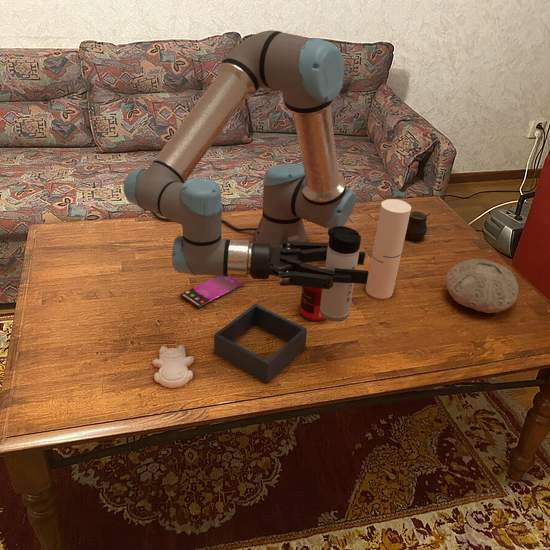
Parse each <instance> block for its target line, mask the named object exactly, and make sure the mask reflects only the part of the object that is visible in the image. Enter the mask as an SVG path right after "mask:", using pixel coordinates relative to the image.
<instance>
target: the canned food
mask: <svg viewBox="0 0 550 550" xmlns="http://www.w3.org/2000/svg"><path fill="white" fill-rule="evenodd" d="M318 267H319V268H323V269H325V267H324V266H318ZM321 296H322V289H321V288H312V287H303V286H301V296H300V306H299V311H300V314H301V316H302V317H303V318H304V319H306V320H308V321H311V322H322V321H324V320H326V319H325V318H323V317H322V316H321V314H320V303H321Z"/></svg>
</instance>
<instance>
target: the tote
mask: <svg viewBox="0 0 550 550" xmlns="http://www.w3.org/2000/svg"><path fill="white" fill-rule="evenodd" d="M255 326H256V327H258V328H261V329H262V330H264V331H266V332H268V333H270V334H272V335H273V336H275V337H278V338H279V339H281V340H283V341H286V342H287V343H285V344H284V345H283V346H282V347H281V348H280V349H278V351H276V352H275V353H274V354H273V355H272V356H270V358H268V359H265V358H263V357H261V356H260V355H258V354H256V353H254V352H253V351H250V350H248V348H245V347H243V346H241V345H239V344H238V343H236V342H235V341H236V340H237V339H239V338H240V337H242V336H243V335H244V334H245V333H247V331H249V330H250V329H251V328H253V327H255ZM307 333H308V329H307V328H306V327H304V326H302V325H299V324H297V323H295V322H294V321H291V320H289V319H287V318H285V317H283V316H281V315H279V314H277V313H275V312H273V311H271V310H269V309H267V308H265V307H263V306H261V305H259V304H257V303H254V304H252V305H251V306H250V307H249V308H247V309H246V310H244V311H243V312H242V313H241V314H239V315H238V316H236V317H235V318H234V319H233V320H231V321H230V322H229V323H227V324H226V325H225V326H223V327H222V328H221V329H219V330H218V331H217V332H215V333H214V334H213V354H214V355H216V356H217V357H219V358H220V359H223V360H224V361H226V362H228V363H230V364H231V365H233V366H235V367H237V369H240V370H242V371H244V372H245V373H247V374H249V375H250V376H252V377H254V378H256V379H258V380H260V381H261V382H263V383H265V384H268V383H269V382H270V381H271V380H272V379H273V378H274V377H276V375H278V374H279V373H280V372H281V371H282V370H283V369H284V368H285V367H286V366H288V364H289V363H290V362H291V361H293V360H294V359H295V358H296V357H297V356H298V355H299V354H300V353H301V352H302V351H303V350H305V348H306V342H307Z"/></svg>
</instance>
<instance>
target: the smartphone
mask: <svg viewBox="0 0 550 550" xmlns="http://www.w3.org/2000/svg"><path fill="white" fill-rule="evenodd" d="M242 285H243V284H242V282H240V281H238V280H237V279H236V278H234V277H229V276H228V277H227V276H214V277H212V278H211V279H208V280H206V281H204V282H202V283H200V284H198V285H196V286H194V287H192V288H189V289H188V290H185V291H184V292H181V293H180V294H179V296H181V297H182V298H183V299H185V300H186V301H187V302H189V303H191V304H192V305H193V306H195V307H197V308H201V307H202V306H205V305H206V304H208V303H210V302H212V301H214V300H216V299H218V298H219V297H222V296H225V295H226V294H228V293H229V292H231V291H234V290H236V289H237V288H239V287H241V286H242Z"/></svg>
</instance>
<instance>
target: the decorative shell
mask: <svg viewBox="0 0 550 550" xmlns="http://www.w3.org/2000/svg"><path fill="white" fill-rule="evenodd" d="M445 287H446V289H447V291H448V293H449V295H450V296H451V298H452V299H453V300H454V301H455V302H456V303H457V304H460V305H462V306H463V307H466V308H470V309H473V310H475V311H476V312H483V313H485V314H493V313H500V312H502V311H506V310H508V309H510V308H511V307H512V306H513V305H514V304H515V302H516V301H517V298H518V295H519V287H520V286H519V285H518V281H517V277H516V276H515V275H514V274H513V272H512V271H511V270H510V269H508V267H507V266H503V265H502V264H500V263H497V262H495V261H493V260H488V259H484V258H478V257H475V258H472V259H466V260H463V261H459V262H458V263H457V264H455V265H452V267H451V269H450V270H449V271H448V272H447V274H446V278H445Z"/></svg>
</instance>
